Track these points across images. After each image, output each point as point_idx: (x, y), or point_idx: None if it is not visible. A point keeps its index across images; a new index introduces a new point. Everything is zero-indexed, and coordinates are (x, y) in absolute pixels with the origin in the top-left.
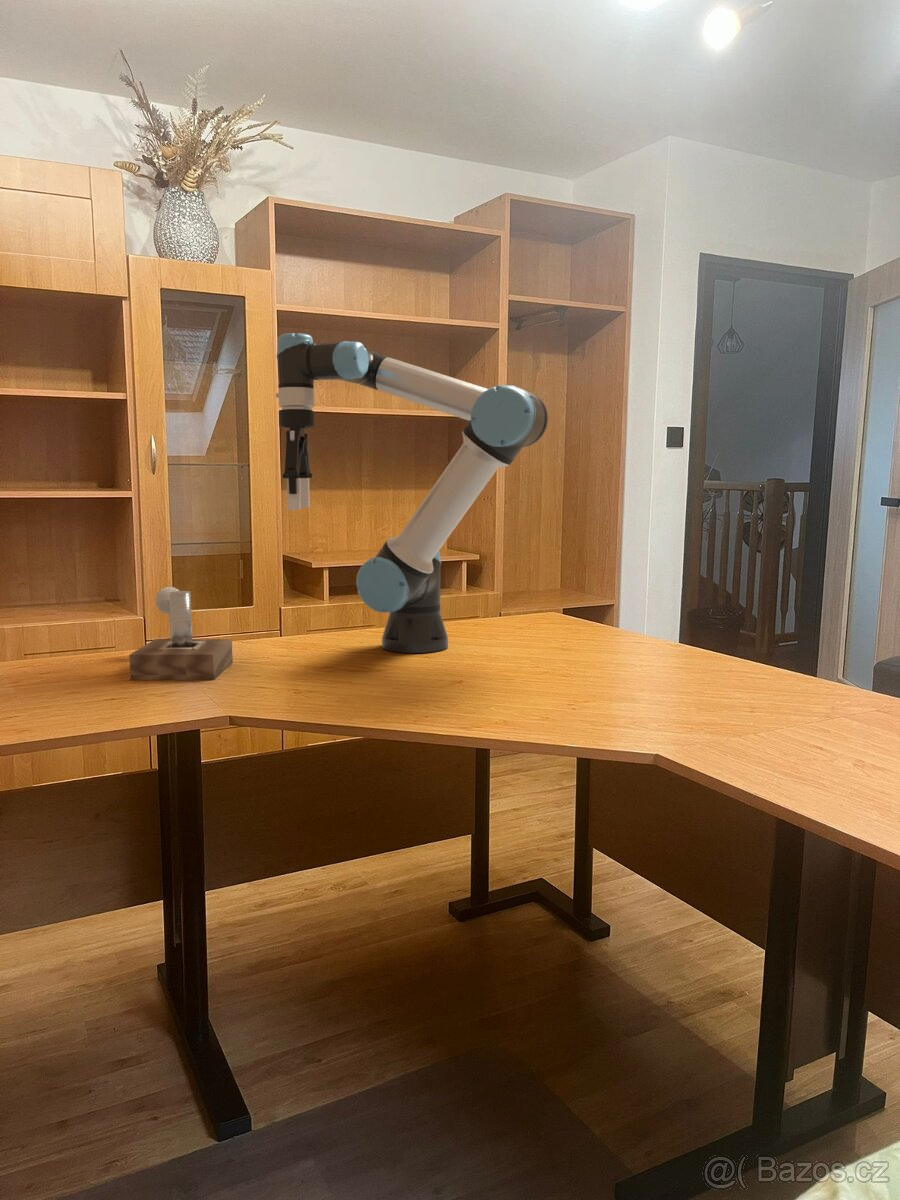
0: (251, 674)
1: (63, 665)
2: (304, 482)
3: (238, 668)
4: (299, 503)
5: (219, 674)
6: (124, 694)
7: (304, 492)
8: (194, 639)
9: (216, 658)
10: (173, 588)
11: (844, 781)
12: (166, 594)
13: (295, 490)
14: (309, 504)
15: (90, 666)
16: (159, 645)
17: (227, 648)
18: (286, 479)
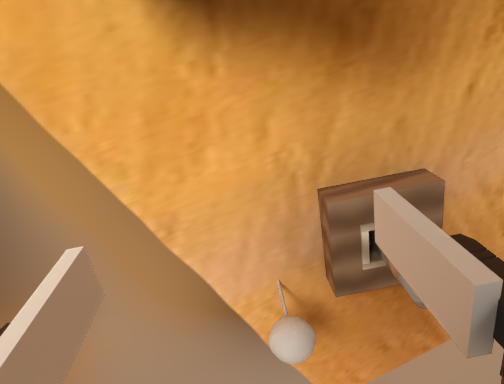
0: (392, 133)
1: (346, 353)
2: (25, 373)
3: (354, 166)
4: (406, 201)
5: (394, 174)
6: (487, 232)
7: (59, 319)
8: (334, 250)
9: (420, 180)
10: (298, 349)
11: None
12: (313, 344)
13: (479, 245)
14: (63, 257)
15: (350, 328)
16: (380, 272)
17: (354, 194)
18: (487, 349)
